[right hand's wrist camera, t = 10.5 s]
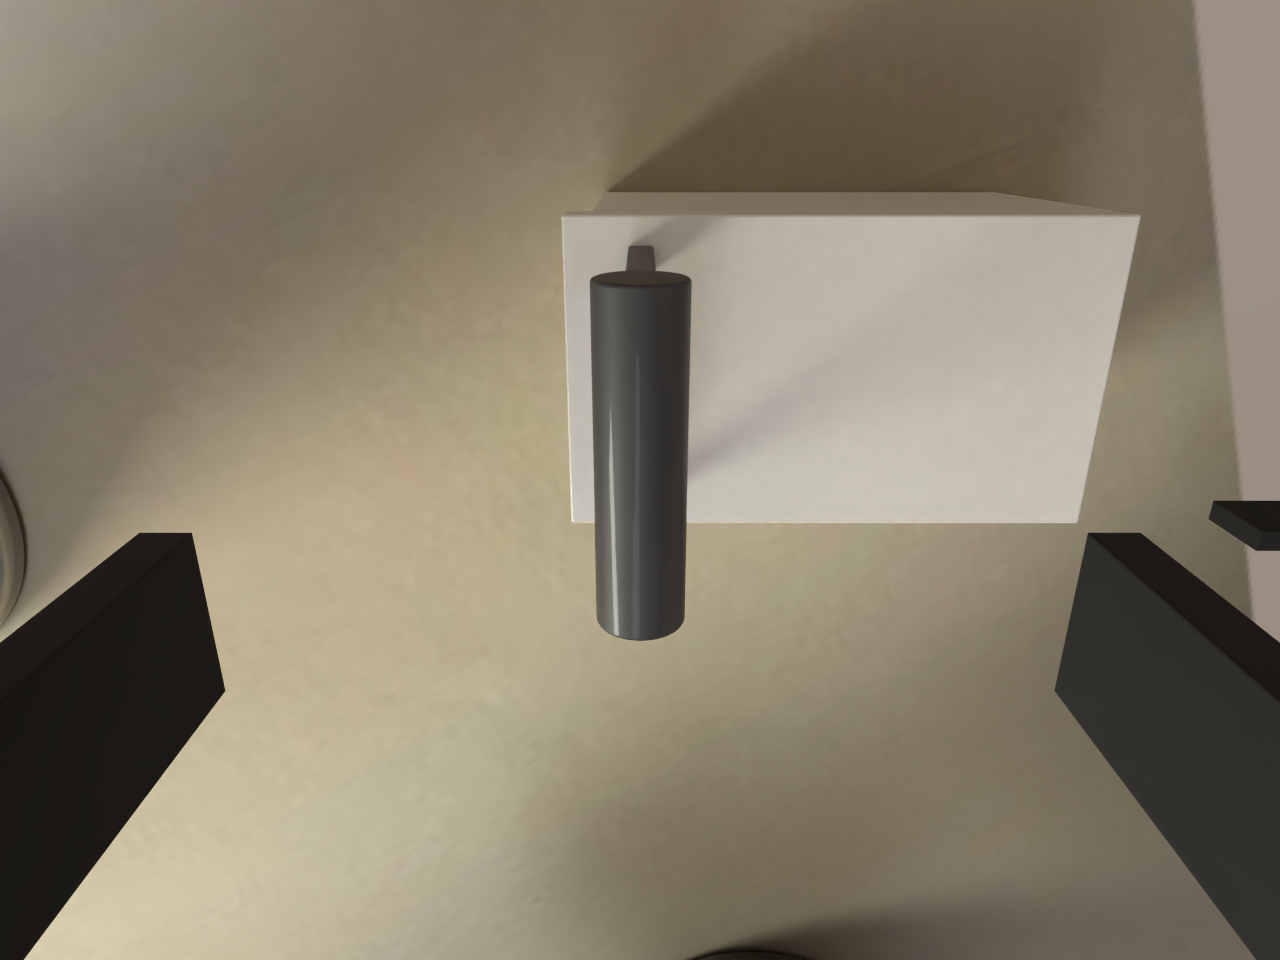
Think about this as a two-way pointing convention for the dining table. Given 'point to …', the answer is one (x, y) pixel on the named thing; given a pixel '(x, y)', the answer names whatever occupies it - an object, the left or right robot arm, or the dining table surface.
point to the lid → (827, 375)
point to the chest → (828, 201)
